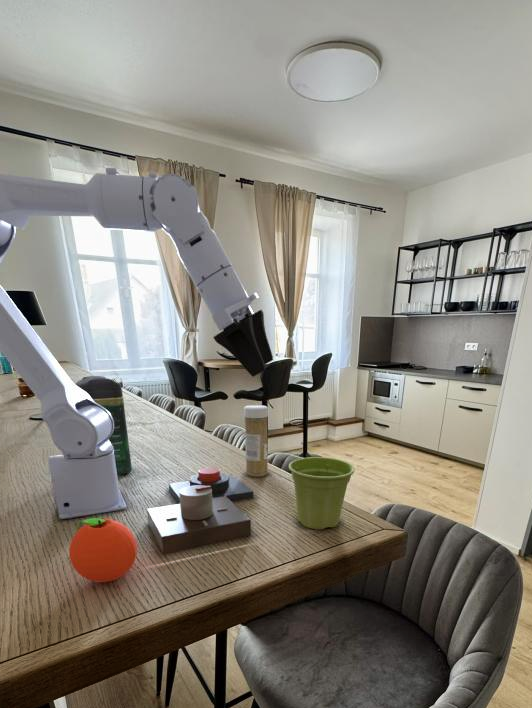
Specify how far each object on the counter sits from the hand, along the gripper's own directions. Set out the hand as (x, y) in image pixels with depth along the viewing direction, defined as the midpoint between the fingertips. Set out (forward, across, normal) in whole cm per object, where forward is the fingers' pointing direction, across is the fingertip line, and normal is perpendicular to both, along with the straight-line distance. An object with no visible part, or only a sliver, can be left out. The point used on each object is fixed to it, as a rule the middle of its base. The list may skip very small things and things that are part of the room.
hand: (263, 367), depth 61 cm
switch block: (+14, -1, +19) cm, 24 cm away
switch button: (+12, -1, +18) cm, 21 cm away
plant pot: (+22, -10, +2) cm, 25 cm away
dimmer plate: (+14, -15, +16) cm, 26 cm away
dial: (+11, -15, +15) cm, 24 cm away
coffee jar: (+4, +8, +40) cm, 41 cm away
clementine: (+9, -28, +21) cm, 37 cm away
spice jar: (+18, +11, +14) cm, 26 cm away
